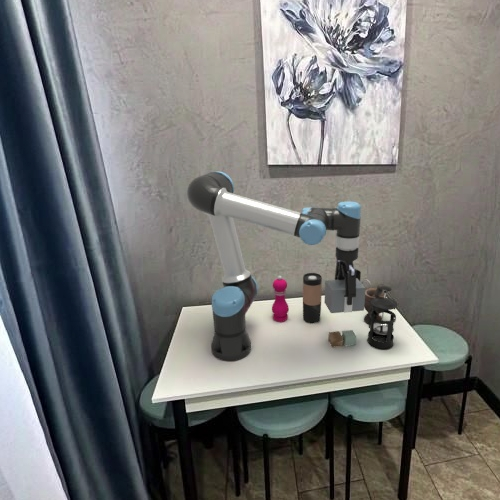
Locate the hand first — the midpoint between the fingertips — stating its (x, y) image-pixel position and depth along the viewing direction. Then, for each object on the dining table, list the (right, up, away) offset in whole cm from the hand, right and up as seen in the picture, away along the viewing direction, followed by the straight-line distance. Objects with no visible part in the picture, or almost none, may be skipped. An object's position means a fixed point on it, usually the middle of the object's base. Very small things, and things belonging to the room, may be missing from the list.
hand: (343, 305), depth 130 cm
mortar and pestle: (+18, -10, +17) cm, 27 cm away
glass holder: (+14, -4, +33) cm, 36 cm away
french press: (+15, -15, +5) cm, 21 cm away
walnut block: (-2, -15, +5) cm, 16 cm away
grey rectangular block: (0, 0, 0) cm, 0 cm away
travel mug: (-8, -9, +22) cm, 25 cm away
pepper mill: (-21, -9, +24) cm, 33 cm away
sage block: (+3, -15, +6) cm, 16 cm away
